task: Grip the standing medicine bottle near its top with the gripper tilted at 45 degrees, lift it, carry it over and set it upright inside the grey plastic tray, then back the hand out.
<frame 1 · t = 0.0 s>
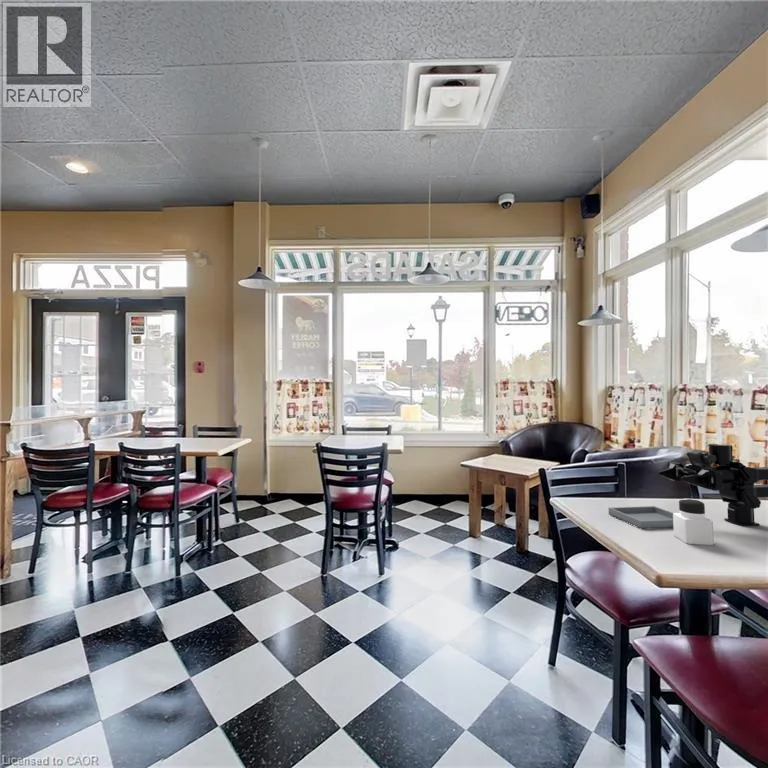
hand: (669, 476, 130), 17 cm above the table, tool horizontal, fingers open, 9 cm apart
medicine bottle: (693, 541, 116), on the table
tray: (648, 520, 135), on the table
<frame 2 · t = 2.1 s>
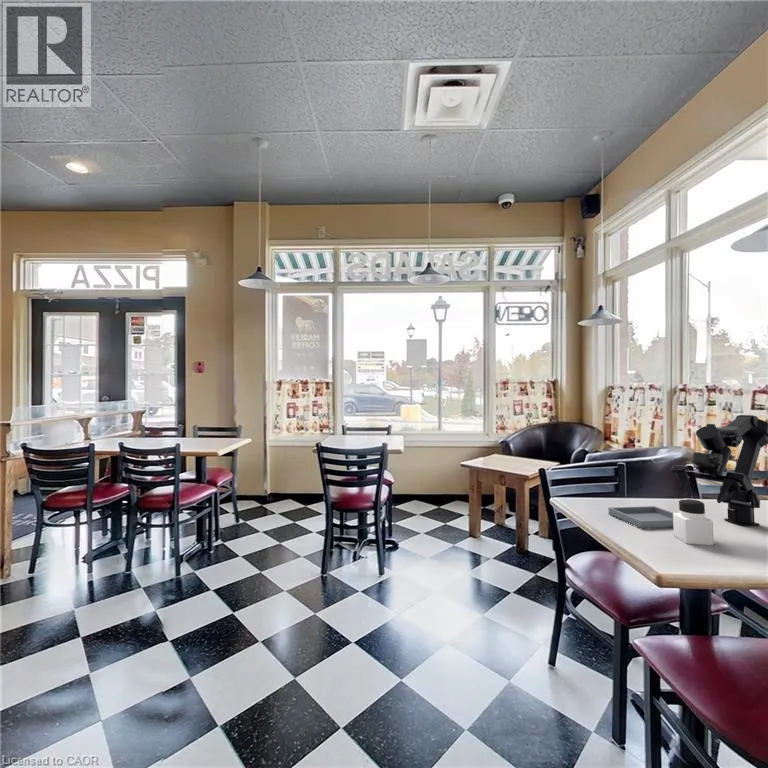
hand: (699, 498, 118), 12 cm above the table, tool tilted 45°, fingers open, 9 cm apart
nothing on the table moved.
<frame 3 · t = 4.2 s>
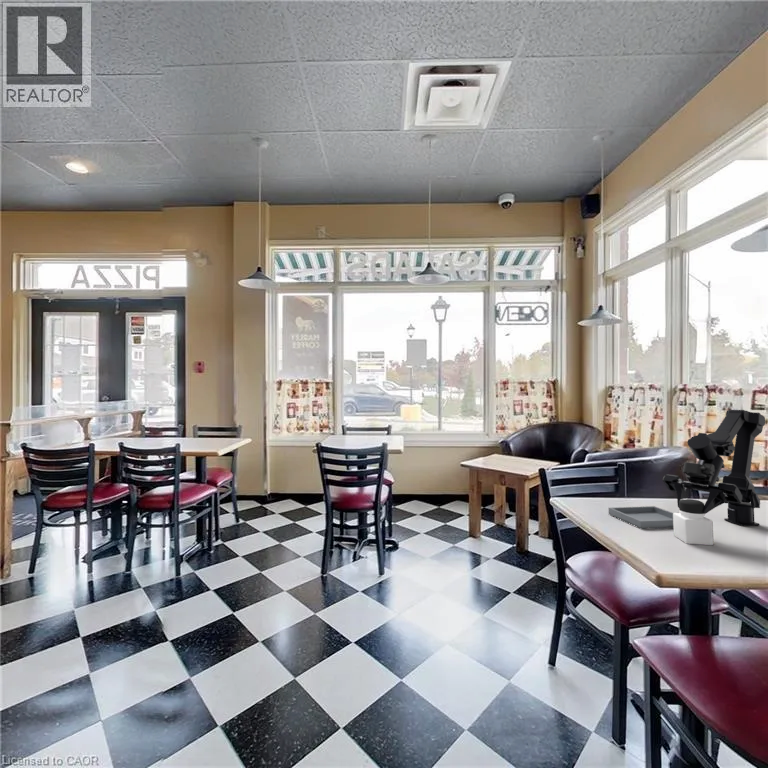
hand: (691, 510, 116), 9 cm above the table, tool tilted 45°, fingers closed on medicine bottle, 6 cm apart
medicine bottle: (693, 541, 116), on the table, touching gripper
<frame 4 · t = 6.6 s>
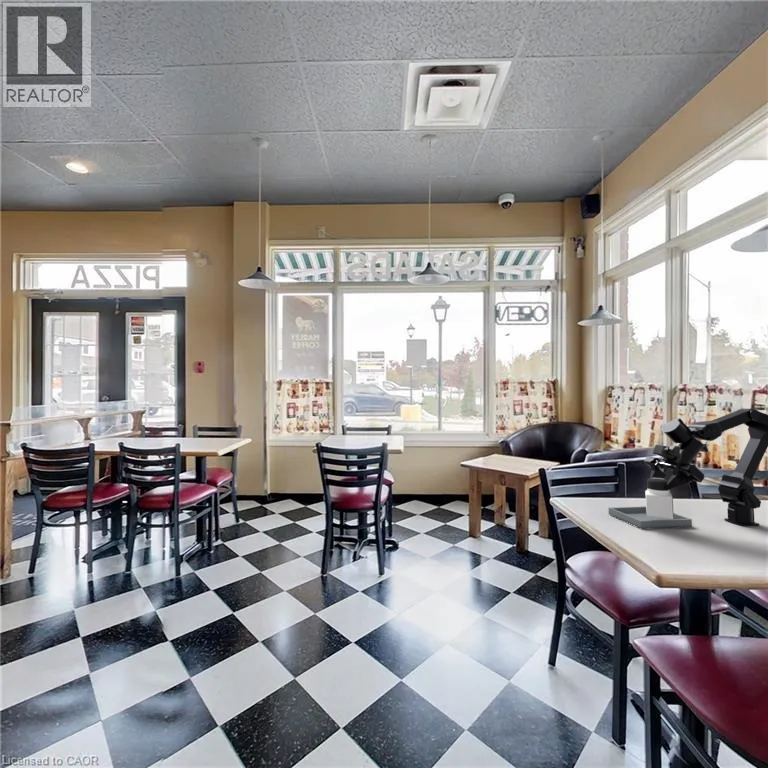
hand: (657, 487, 128), 13 cm above the table, tool tilted 45°, fingers closed on medicine bottle, 6 cm apart
medicine bottle: (659, 515, 128), point 4 cm above the table, touching gripper
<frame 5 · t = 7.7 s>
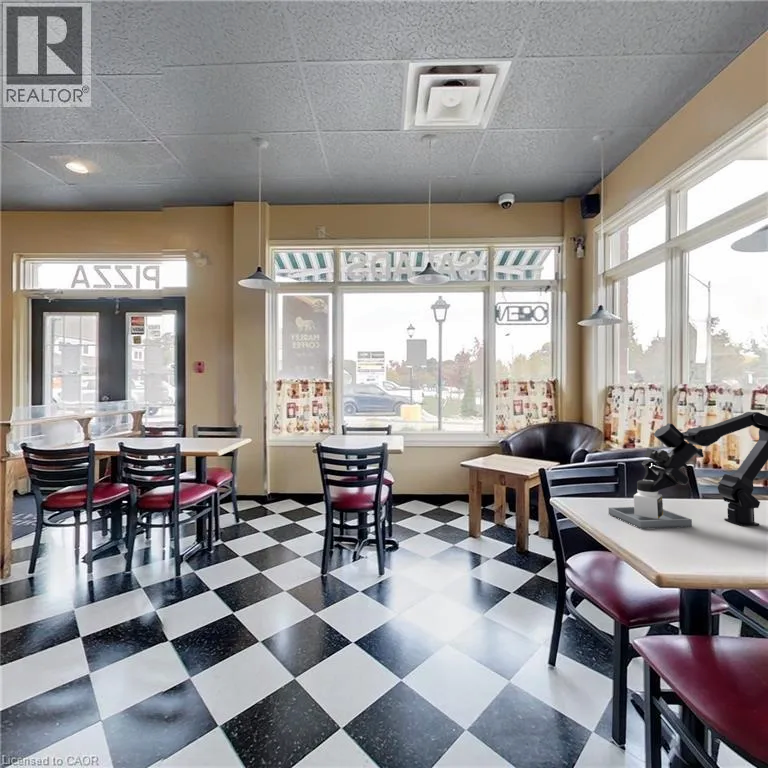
hand: (646, 488, 135), 11 cm above the table, tool tilted 45°, fingers closed on medicine bottle, 6 cm apart
medicine bottle: (648, 515, 135), point 2 cm above the table, touching gripper
when the fingers open (11 cm above the table, at t = 8.6 s): medicine bottle stays where it is, resting on tray.
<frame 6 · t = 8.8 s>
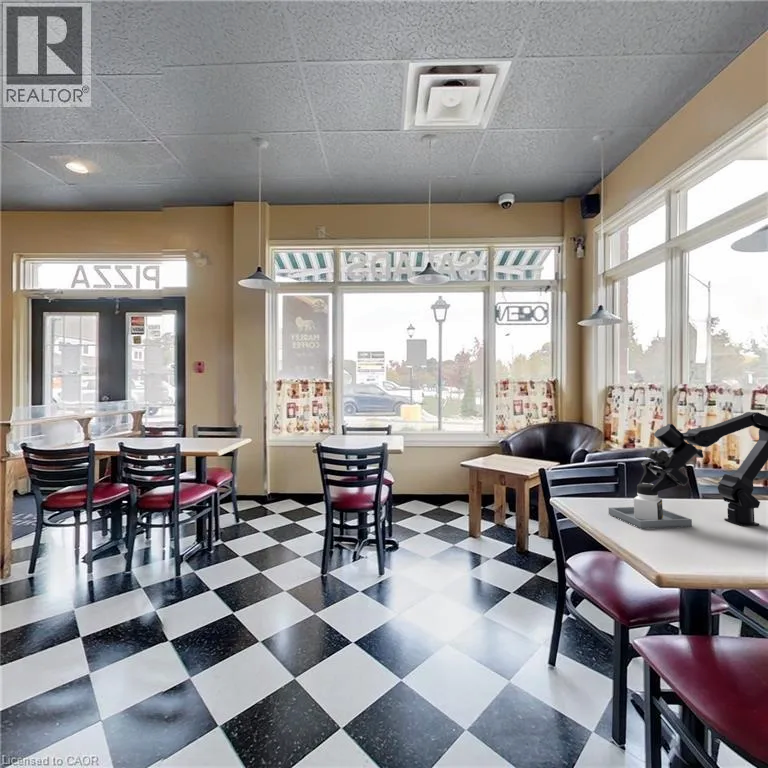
hand: (645, 488, 135), 11 cm above the table, tool tilted 45°, fingers open, 8 cm apart
medicine bottle: (648, 519, 135), resting on tray
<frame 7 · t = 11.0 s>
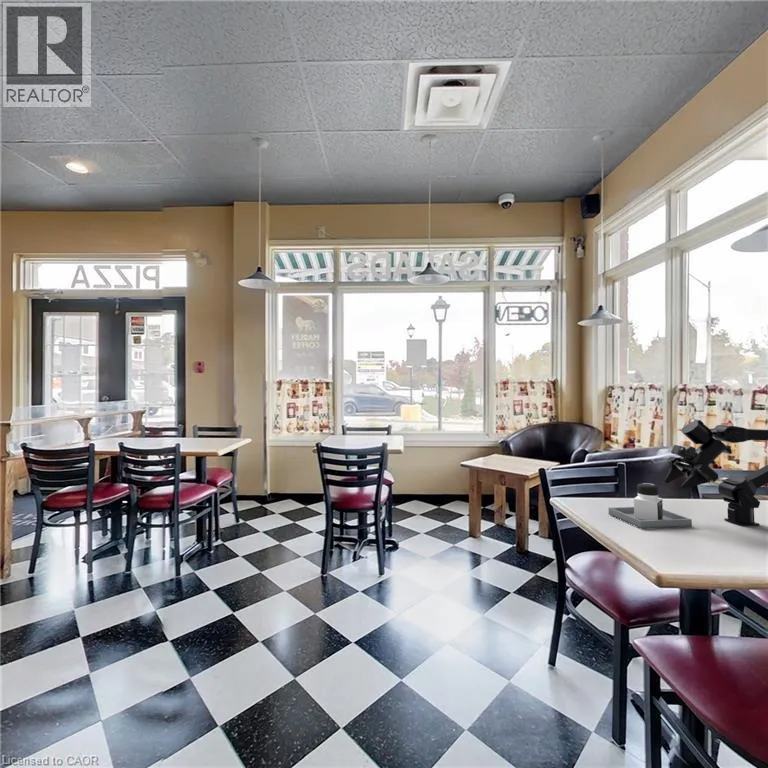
hand: (673, 485, 134), 12 cm above the table, tool tilted 45°, fingers open, 9 cm apart
nothing on the table moved.
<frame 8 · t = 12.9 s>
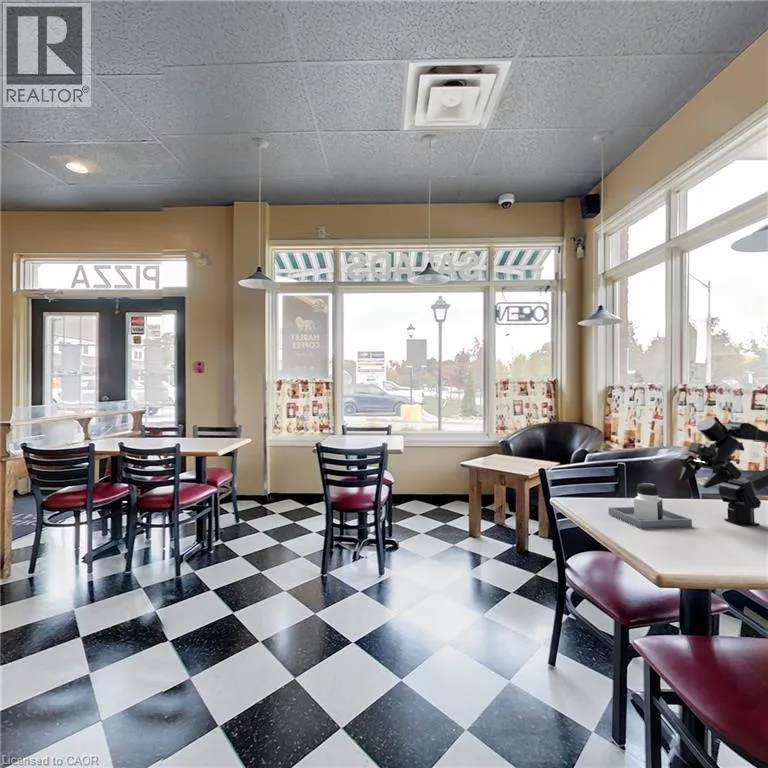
hand: (692, 484, 130), 14 cm above the table, tool tilted 45°, fingers open, 9 cm apart
nothing on the table moved.
at the end: medicine bottle inside the target area on the tray (0.2 cm from its centre), point 0.4 cm above the tray's base; medicine bottle tilted 0°; the gripper is holding nothing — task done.
